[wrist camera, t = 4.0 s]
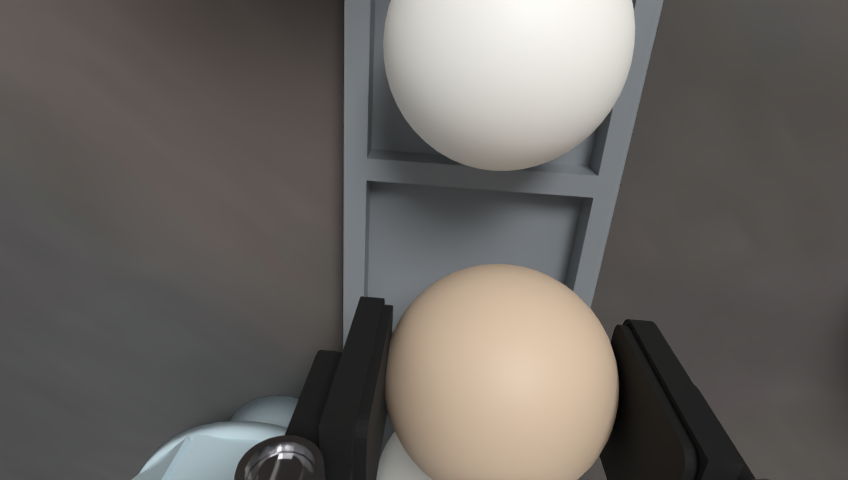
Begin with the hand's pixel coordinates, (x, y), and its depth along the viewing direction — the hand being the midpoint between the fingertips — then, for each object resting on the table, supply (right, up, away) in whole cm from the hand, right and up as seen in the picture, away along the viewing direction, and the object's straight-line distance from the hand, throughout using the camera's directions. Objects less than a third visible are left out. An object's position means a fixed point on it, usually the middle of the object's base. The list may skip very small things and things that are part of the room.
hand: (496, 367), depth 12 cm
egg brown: (0, +1, +2) cm, 2 cm away
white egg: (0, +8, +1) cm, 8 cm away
